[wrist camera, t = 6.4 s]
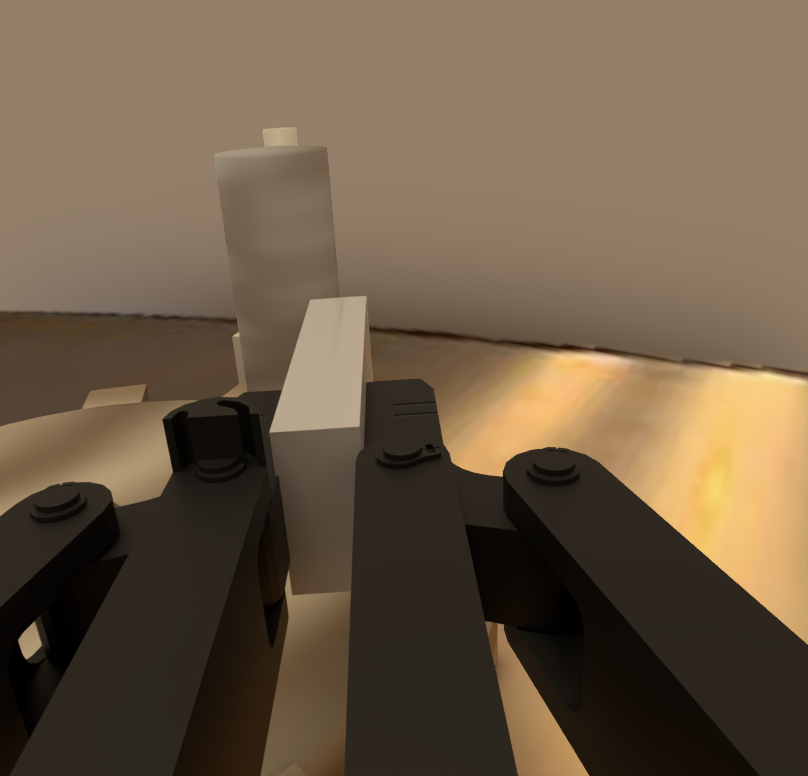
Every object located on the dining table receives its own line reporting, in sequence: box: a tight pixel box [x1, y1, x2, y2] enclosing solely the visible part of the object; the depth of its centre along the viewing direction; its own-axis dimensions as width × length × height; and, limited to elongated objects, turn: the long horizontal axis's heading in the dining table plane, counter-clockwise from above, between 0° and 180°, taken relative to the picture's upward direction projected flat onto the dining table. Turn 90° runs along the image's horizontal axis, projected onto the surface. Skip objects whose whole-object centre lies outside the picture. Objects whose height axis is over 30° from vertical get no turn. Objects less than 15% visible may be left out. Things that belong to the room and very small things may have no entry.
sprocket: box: [0, 145, 497, 776], centre depth 18 cm, size 23×23×12 cm
